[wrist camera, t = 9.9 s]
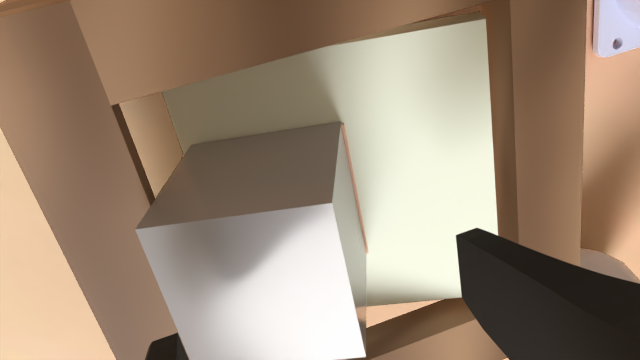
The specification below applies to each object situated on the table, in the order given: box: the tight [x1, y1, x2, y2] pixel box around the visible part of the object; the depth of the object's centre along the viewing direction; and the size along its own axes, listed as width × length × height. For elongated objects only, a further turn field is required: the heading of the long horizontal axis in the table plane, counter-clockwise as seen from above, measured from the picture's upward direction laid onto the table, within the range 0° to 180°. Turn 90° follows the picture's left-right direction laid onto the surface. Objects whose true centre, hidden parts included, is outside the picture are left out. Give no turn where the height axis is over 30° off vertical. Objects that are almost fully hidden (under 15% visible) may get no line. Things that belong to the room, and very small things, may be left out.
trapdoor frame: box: [0, 0, 587, 360], centre depth 20 cm, size 16×16×7 cm
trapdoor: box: [162, 11, 498, 306], centre depth 19 cm, size 10×10×1 cm
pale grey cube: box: [135, 121, 366, 360], centre depth 17 cm, size 5×5×5 cm
